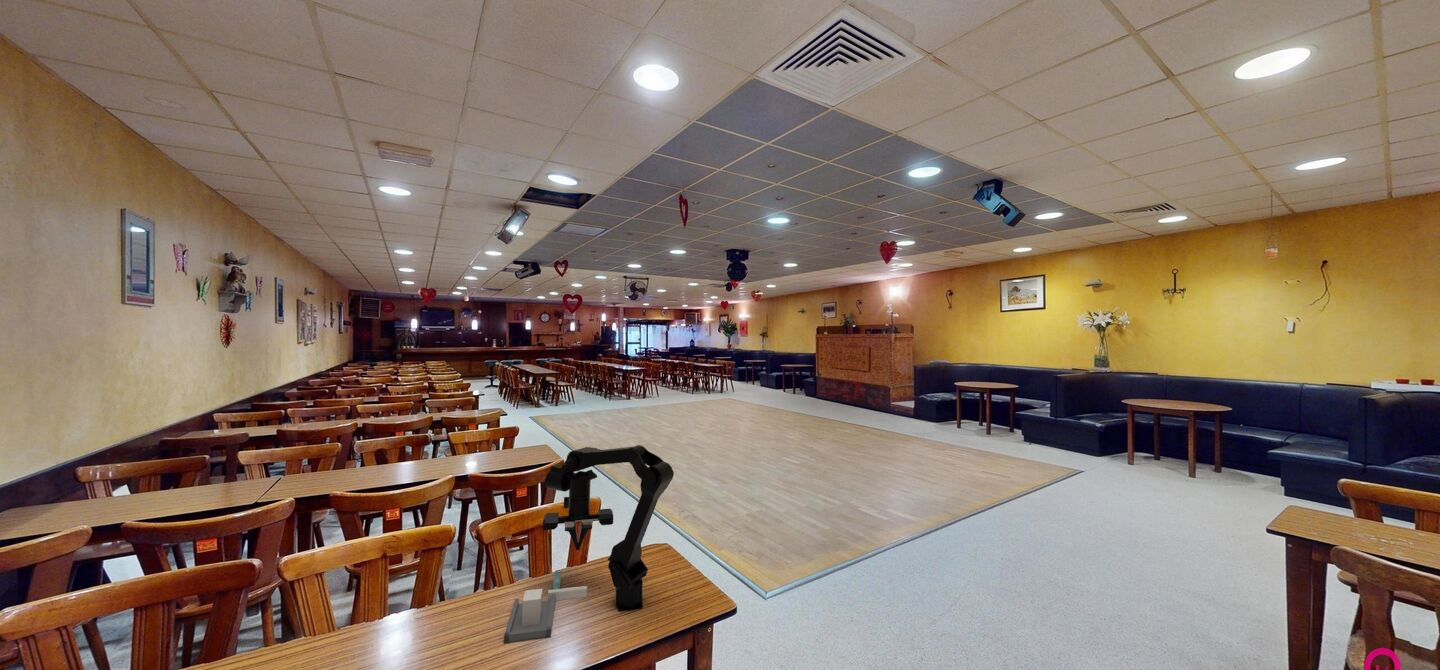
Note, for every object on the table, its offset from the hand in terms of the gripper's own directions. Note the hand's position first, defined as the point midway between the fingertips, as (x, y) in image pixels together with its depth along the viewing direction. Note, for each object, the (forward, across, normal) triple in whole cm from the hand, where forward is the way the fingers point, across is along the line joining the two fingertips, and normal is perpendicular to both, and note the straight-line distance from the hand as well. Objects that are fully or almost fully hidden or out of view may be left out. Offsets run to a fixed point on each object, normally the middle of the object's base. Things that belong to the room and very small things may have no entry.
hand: (577, 549), depth 131 cm
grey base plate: (+11, +10, +13) cm, 20 cm away
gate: (+11, +2, +1) cm, 11 cm away
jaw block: (+10, +10, +13) cm, 20 cm away
